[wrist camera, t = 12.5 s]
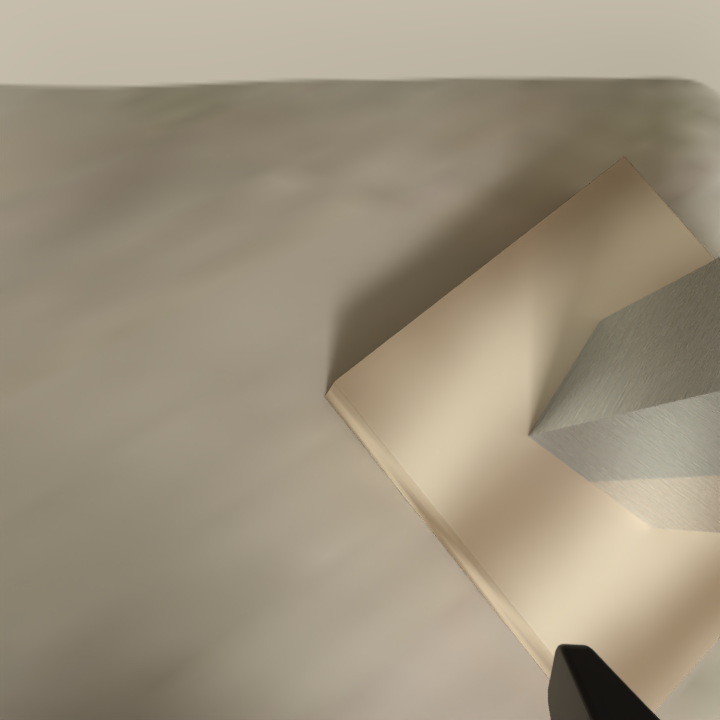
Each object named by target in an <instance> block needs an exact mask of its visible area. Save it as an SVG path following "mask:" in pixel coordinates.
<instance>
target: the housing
mask: <svg viewBox="0 0 720 720" xmlns="http://www.w3.org/2000/svg"><path fill="white" fill-rule="evenodd" d="M528 437H530V438H531V439H532V440H534V441H535V442H536V443H538V444H539V445H541V446H542V447H543V448H545V449H546V450H547V451H549V452H550V453H551V454H553V455H554V456H555V457H557V458H558V459H559V460H561V461H562V462H563V463H565V464H566V465H568V466H569V467H570V468H572V469H573V470H574V471H576V472H577V473H578V474H580V475H581V476H582V477H584V478H585V479H586V480H588V481H589V482H590V483H592V484H593V485H595V486H596V487H597V488H599V489H600V490H601V491H603V492H604V493H605V494H607V495H608V496H609V497H611V498H612V499H613V500H615V501H616V502H617V503H619V504H620V505H622V506H623V507H624V508H626V509H627V510H628V511H630V512H631V513H632V514H634V515H635V516H636V517H638V518H639V519H640V520H642V521H643V522H644V523H646V524H647V525H649V526H650V527H651V528H661V529H674V530H688V531H701V532H714V533H720V257H719V258H717V259H715V260H713V261H711V262H710V263H708V264H706V265H704V266H702V267H700V268H698V269H696V270H694V271H693V272H691V273H689V274H687V275H685V276H683V277H681V278H679V279H677V280H676V281H674V282H672V283H670V284H668V285H666V286H664V287H662V288H660V289H659V290H657V291H655V292H653V293H651V294H649V295H647V296H645V297H643V298H642V299H640V300H638V301H636V302H634V303H632V304H630V305H628V306H626V307H625V308H623V309H621V310H619V311H617V312H615V313H613V314H611V315H609V316H608V317H606V318H604V319H602V320H600V322H599V323H598V325H597V327H596V328H595V330H594V331H593V333H592V335H591V336H590V338H589V339H588V341H587V343H586V344H585V346H584V347H583V349H582V351H581V352H580V354H579V355H578V357H577V359H576V360H575V362H574V363H573V365H572V367H571V368H570V370H569V371H568V373H567V375H566V376H565V378H564V379H563V381H562V383H561V384H560V386H559V387H558V389H557V391H556V392H555V394H554V395H553V397H552V399H551V400H550V402H549V403H548V405H547V407H546V408H545V410H544V411H543V413H542V415H541V416H540V418H539V419H538V421H537V422H536V424H535V426H534V427H533V429H532V430H531V432H530V434H529V435H528Z"/></svg>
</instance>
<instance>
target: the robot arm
mask: <svg viewBox="0 0 720 720" xmlns="http://www.w3.org/2000/svg"><path fill="white" fill-rule="evenodd" d="M548 704H549V711H550V717H551V720H660V719H659V718H658V717H657V716H656V715H655V714H654V713H653V712H652V711H651V710H650V709H649V708H648V707H647V705H646V704H645V703H644V702H643V701H642V700H641V699H640V698H639V697H638V696H637V695H636V694H635V693H634V692H633V691H632V690H631V689H630V688H629V687H628V686H627V684H626V683H625V682H624V681H623V680H622V679H621V678H620V677H619V676H618V675H617V674H616V673H615V672H614V671H613V670H612V669H611V668H610V667H609V666H608V665H607V664H606V662H605V661H604V660H603V659H602V658H601V657H600V656H599V655H598V654H597V653H596V652H595V651H594V650H593V649H592V648H590V647H589V646H587V645H578V644H560V645H558V647H557V648H556V651H555V655H554V660H553V666H552V671H551V676H550V681H549V687H548Z"/></svg>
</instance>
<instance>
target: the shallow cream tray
mask: <svg viewBox="0 0 720 720" xmlns="http://www.w3.org/2000/svg"><path fill="white" fill-rule="evenodd" d="M713 260H715V259H714V258H713V257H712V256H711V255H710V254H709V252H708V251H707V250H706V249H705V248H704V247H703V246H702V244H701V243H700V242H699V241H698V240H697V239H696V238H695V236H694V235H693V234H692V233H691V232H690V231H689V230H688V228H687V227H686V226H685V225H684V224H683V223H682V222H681V220H680V219H679V218H678V217H677V216H676V215H675V214H674V212H673V211H672V210H671V209H670V208H669V207H668V206H667V205H666V203H665V202H664V201H663V200H662V199H661V198H660V197H659V195H658V194H657V193H656V192H655V191H654V190H653V189H652V187H651V186H650V185H649V184H648V183H647V182H646V181H645V179H644V178H643V177H642V176H641V175H640V174H639V173H638V171H637V170H636V169H635V168H634V167H633V166H632V165H631V163H630V162H629V161H628V160H627V159H626V158H625V157H623V158H622V159H620V160H619V161H618V162H617V163H615V164H614V165H613V166H611V167H610V168H609V169H608V170H606V171H605V172H604V173H602V174H601V175H600V176H599V177H597V178H596V179H595V180H593V181H592V182H591V183H589V184H588V185H587V186H586V187H584V188H583V189H582V190H580V191H579V192H578V193H577V194H575V195H574V196H573V197H571V198H570V199H569V200H568V201H566V202H565V203H564V204H562V205H561V206H560V207H559V208H557V209H556V210H555V211H553V212H552V213H551V214H550V215H548V216H547V217H546V218H544V219H543V220H542V221H541V222H539V223H538V224H537V225H535V226H534V227H533V228H532V229H530V230H529V231H528V232H526V233H525V234H524V235H522V236H521V237H520V238H519V239H517V240H516V241H515V242H513V243H512V244H511V245H510V246H508V247H507V248H506V249H504V250H503V251H502V252H501V253H499V254H498V255H497V256H495V257H494V258H493V259H492V260H490V261H489V262H488V263H486V264H485V265H484V266H483V267H481V268H480V269H479V270H477V271H476V272H475V273H474V274H472V275H471V276H470V277H468V278H467V279H466V280H464V281H463V282H462V283H461V284H459V285H458V286H457V287H455V288H454V289H453V290H452V291H450V292H449V293H448V294H446V295H445V296H444V297H443V298H441V299H440V300H439V301H437V302H436V303H435V304H434V305H432V306H431V307H430V308H428V309H427V310H426V311H425V312H423V313H422V314H421V315H419V316H418V317H417V318H416V319H414V320H413V321H412V322H410V323H409V324H408V325H407V326H405V327H404V328H403V329H401V330H400V331H399V332H397V333H396V334H395V335H394V336H392V337H391V338H390V339H388V340H387V341H386V342H385V343H383V344H382V345H381V346H379V347H378V348H377V349H376V350H374V351H373V352H372V353H370V354H369V355H368V356H367V357H365V358H364V359H363V360H361V361H360V362H359V363H358V364H356V365H355V366H354V367H352V368H351V369H350V370H349V371H347V372H346V373H345V374H343V375H342V376H341V377H339V378H338V379H337V380H336V381H334V383H333V384H332V386H331V388H330V389H329V391H328V392H327V394H326V396H325V398H326V399H327V400H328V401H329V403H330V404H331V405H332V406H333V408H334V409H335V410H336V411H337V413H338V414H339V415H340V416H341V418H342V419H343V420H344V421H345V423H346V424H347V425H348V426H349V428H350V429H351V430H352V431H353V433H354V434H355V435H356V436H357V438H358V439H359V440H360V441H361V443H362V444H363V445H364V447H365V448H366V449H367V450H368V452H369V453H370V454H371V455H372V457H373V458H374V459H375V460H376V462H377V463H378V464H379V465H380V467H381V468H382V469H383V470H384V472H385V473H386V474H387V475H388V477H389V478H390V479H391V480H392V482H393V483H394V484H395V485H396V487H397V488H398V489H399V490H400V492H401V493H402V494H403V495H404V497H405V498H406V499H407V500H408V502H409V503H410V504H411V505H412V507H413V508H414V509H415V510H416V512H417V513H418V514H419V516H420V517H421V518H422V519H423V521H424V522H425V523H426V524H427V526H428V527H429V528H430V529H431V531H432V532H433V533H434V534H435V536H436V537H437V538H438V539H439V541H440V542H441V543H442V544H443V546H444V547H445V548H446V549H447V551H448V552H449V553H450V554H451V556H452V557H453V558H454V559H455V561H456V562H457V563H458V564H459V566H460V567H461V568H462V569H463V571H464V572H465V573H466V574H467V576H468V577H469V578H470V579H471V581H472V582H473V583H474V584H475V586H476V587H477V588H478V590H479V591H480V592H481V593H482V595H483V596H484V597H485V598H486V600H487V601H488V602H489V603H490V605H491V606H492V607H493V608H494V610H495V611H496V612H497V613H498V615H499V616H500V617H501V618H502V620H503V621H504V622H505V623H506V625H507V626H508V627H509V628H510V630H511V631H512V632H513V633H514V635H515V636H516V637H517V638H518V640H519V641H520V642H521V643H522V645H523V646H524V647H525V648H526V650H527V651H528V652H529V653H530V655H531V656H532V657H533V658H534V660H535V661H536V662H537V664H538V665H539V666H540V667H541V669H542V670H543V671H544V672H545V674H546V675H547V676H548V677H549V679H550V676H551V671H552V666H553V660H554V655H555V651H556V648H557V647H558V645H560V644H578V645H587V646H589V647H590V648H592V649H593V650H594V651H595V652H596V653H597V654H598V655H599V656H600V657H601V658H602V659H603V660H604V661H605V662H606V664H607V665H608V666H609V667H610V668H611V669H612V670H613V671H614V672H615V673H616V674H617V675H618V676H619V677H620V678H621V679H622V680H623V681H624V682H625V683H626V684H627V686H628V687H629V688H630V689H631V690H632V691H633V692H634V693H635V694H636V695H637V696H638V697H639V698H640V699H641V700H642V701H643V702H644V703H645V704H646V705H647V707H648V708H649V709H650V710H651V711H652V712H653V713H654V712H655V711H656V710H657V709H658V708H659V706H660V705H661V704H662V703H663V702H664V701H665V700H666V698H667V697H668V696H669V695H670V694H671V693H672V692H673V690H674V689H675V688H676V687H677V686H678V685H679V684H680V682H681V681H682V680H683V679H684V678H685V677H686V676H687V674H688V673H689V672H690V671H691V670H692V669H693V668H694V666H695V665H696V664H697V663H698V662H699V661H700V660H701V658H702V657H703V656H704V655H705V654H706V653H707V652H708V650H709V649H710V648H711V647H712V646H713V645H714V644H715V642H716V641H717V640H718V639H719V638H720V533H714V532H701V531H688V530H674V529H661V528H651V527H650V526H649V525H647V524H646V523H644V522H643V521H642V520H640V519H639V518H638V517H636V516H635V515H634V514H632V513H631V512H630V511H628V510H627V509H626V508H624V507H623V506H622V505H620V504H619V503H617V502H616V501H615V500H613V499H612V498H611V497H609V496H608V495H607V494H605V493H604V492H603V491H601V490H600V489H599V488H597V487H596V486H595V485H593V484H592V483H590V482H589V481H588V480H586V479H585V478H584V477H582V476H581V475H580V474H578V473H577V472H576V471H574V470H573V469H572V468H570V467H569V466H568V465H566V464H565V463H563V462H562V461H561V460H559V459H558V458H557V457H555V456H554V455H553V454H551V453H550V452H549V451H547V450H546V449H545V448H543V447H542V446H541V445H539V444H538V443H536V442H535V441H534V440H532V439H531V438H530V437H528V435H529V434H530V432H531V430H532V429H533V427H534V426H535V424H536V422H537V421H538V419H539V418H540V416H541V415H542V413H543V411H544V410H545V408H546V407H547V405H548V403H549V402H550V400H551V399H552V397H553V395H554V394H555V392H556V391H557V389H558V387H559V386H560V384H561V383H562V381H563V379H564V378H565V376H566V375H567V373H568V371H569V370H570V368H571V367H572V365H573V363H574V362H575V360H576V359H577V357H578V355H579V354H580V352H581V351H582V349H583V347H584V346H585V344H586V343H587V341H588V339H589V338H590V336H591V335H592V333H593V331H594V330H595V328H596V327H597V325H598V323H599V322H600V320H602V319H604V318H606V317H608V316H609V315H611V314H613V313H615V312H617V311H619V310H621V309H623V308H625V307H626V306H628V305H630V304H632V303H634V302H636V301H638V300H640V299H642V298H643V297H645V296H647V295H649V294H651V293H653V292H655V291H657V290H659V289H660V288H662V287H664V286H666V285H668V284H670V283H672V282H674V281H676V280H677V279H679V278H681V277H683V276H685V275H687V274H689V273H691V272H693V271H694V270H696V269H698V268H700V267H702V266H704V265H706V264H708V263H710V262H711V261H713Z"/></svg>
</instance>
